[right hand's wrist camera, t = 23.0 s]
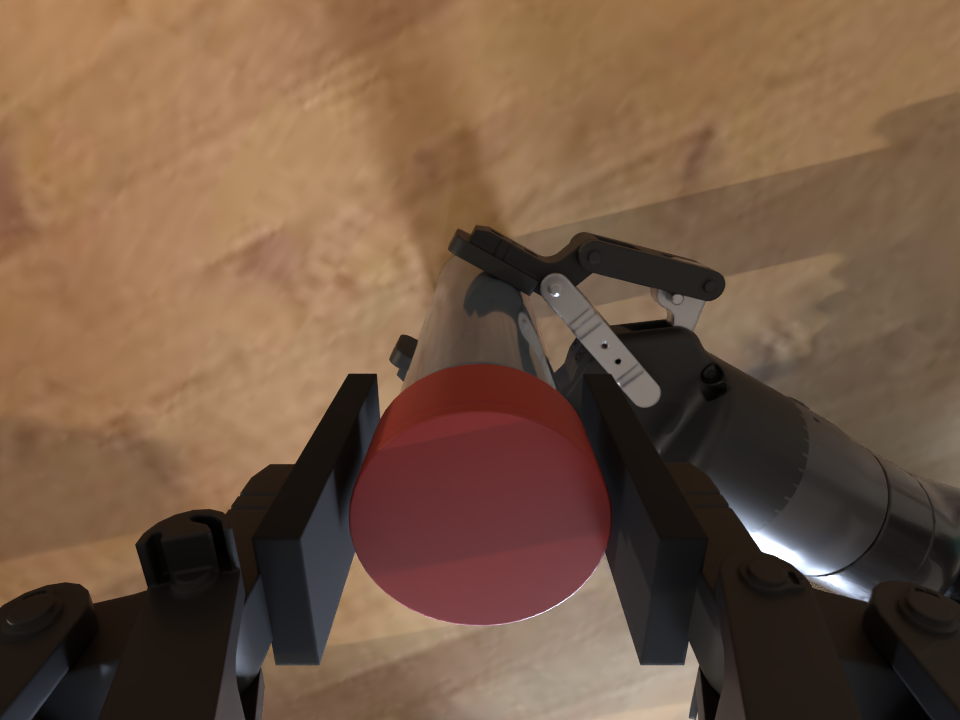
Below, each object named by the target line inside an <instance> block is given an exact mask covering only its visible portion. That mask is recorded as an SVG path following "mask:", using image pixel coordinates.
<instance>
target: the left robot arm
mask: <svg viewBox="0 0 960 720" xmlns="http://www.w3.org/2000/svg"><path fill="white" fill-rule="evenodd" d="M448 250H449V251H450V252H451V253H453V254H454V255H456V256H458V257H459V258H461V259H463V260H465V261H467V262H468V263H470V264H472V265H474V266H476V267H477V268H479V269H481V270H483V271H485V272H486V273H488V274H490V275H492V276H494V277H496V278H497V279H499V280H501V281H503V282H505V283H507V284H509V285H511V286H512V287H514V288H515V289H517V290H519V291H521V292H523V293H524V294H526V295H528V296H530V295H531V293H532V292H533V291H534V292H535V293H537V294H539V295H541V296H542V297H543V298H544V299H545V301H546V302H547V303H548V304H549V305H550V306H551V307H552V309H553V310H554V311H555V312H556V313H557V314H558V315H559V316H560V318H561V319H562V320H563V321H564V322H565V323H566V324H567V325H568V327H569V328H570V329H571V330H572V332H573V333H574V334H575V336H576V339H575V340H574V342H573V343H572V345H571V346H570V348H569V351H568V354H567V357H566V360H565V363H564V364H563V365H562V366H561V367H560V368H559V369H558V370H557V371H556V372H555V373H554V375H555V378H556V381H557V384H558V387H559V390H560V392H561V395H562V396H563V397H564V398H565V399H566V400H567V401H568V402H569V403H570V404H571V406H572V407H573V408H574V410H575V411H576V412H577V414H578V416H579V418H580V410H581V397H582V384H583V374H612V376H613V377H614V379H615V381H616V383H617V384H618V386H619V388H620V389H621V391H622V393H623V394H624V396H625V398H626V399H627V401H628V403H629V404H630V406H631V408H632V410H633V411H634V413H635V415H636V416H637V418H638V420H639V421H640V423H641V425H642V426H643V428H644V430H645V431H646V433H647V435H648V437H649V438H650V440H651V442H652V443H653V445H654V447H655V448H656V450H657V452H658V453H659V455H660V457H661V458H662V460H663V462H664V463H691V464H693V465H694V466H696V467H697V468H698V469H700V470H701V471H703V472H704V473H705V474H707V475H708V476H709V477H710V478H711V480H712V481H713V482H714V484H715V485H716V487H717V488H718V489H719V491H720V495H723V497H724V498H725V499H726V501H727V502H728V504H729V508H732V509H733V511H734V512H735V514H736V515H737V516H738V518H739V519H740V521H741V522H742V523H743V525H744V526H745V528H746V529H747V530H748V532H749V533H750V535H751V536H752V538H753V539H754V540H755V542H756V543H757V545H758V546H759V547H760V549H761V550H762V552H765V553H769V554H772V555H775V556H777V557H779V558H781V559H783V560H785V561H787V562H789V563H791V564H792V565H793V566H794V567H795V568H797V569H798V570H799V571H800V572H801V573H803V574H804V575H805V577H806V578H807V580H809V581H811V582H813V583H815V584H817V585H819V586H821V587H824V588H826V589H828V590H829V591H831V592H833V593H835V594H837V595H841V596H845V597H849V598H854V599H858V600H862V601H867V602H868V600H869V597H870V594H871V591H872V589H873V588H874V587H875V586H876V585H878V584H879V583H880V582H885V581H893V580H897V581H904V582H910V583H915V584H918V585H921V586H924V587H927V588H929V589H932V590H935V591H937V592H939V593H941V594H942V595H944V596H946V597H948V598H950V599H952V600H953V601H955V602H957V603H958V604H959V605H960V489H959V488H956V487H952V486H948V485H944V484H941V483H937V482H934V481H930V480H927V479H923V478H920V477H917V476H914V475H912V474H910V473H908V472H907V471H905V470H903V469H902V468H900V467H898V466H896V465H894V464H893V463H891V462H889V461H887V460H886V459H884V458H882V457H880V456H879V455H877V454H875V453H873V452H872V451H870V450H868V449H866V448H864V447H863V446H861V445H860V444H858V443H857V442H855V441H854V440H853V439H851V438H850V437H849V436H848V435H847V434H845V433H844V432H843V431H842V430H841V429H839V428H838V427H837V426H835V425H834V424H832V423H831V422H829V421H828V420H826V419H824V418H823V417H821V416H819V415H818V414H816V413H814V412H812V411H811V410H810V409H809V408H808V407H807V406H805V404H803V403H802V402H800V401H798V400H795V399H793V398H791V397H786V396H784V395H783V394H781V393H779V392H777V391H776V390H774V389H772V388H770V387H769V386H767V385H765V384H763V383H761V382H760V381H758V380H756V379H754V378H753V377H751V376H749V375H747V374H746V373H744V372H742V371H740V370H739V369H737V368H735V367H733V366H732V365H730V364H728V363H726V362H725V361H723V360H721V359H719V358H718V357H716V356H714V355H712V354H711V353H709V352H707V351H706V350H705V349H704V348H703V346H702V344H701V342H700V340H699V338H698V337H697V335H696V334H695V333H694V332H693V330H694V328H695V326H696V323H697V321H698V318H699V316H700V314H701V311H702V309H703V306H704V304H705V302H706V301H712V300H714V299H716V298H718V297H719V296H720V295H721V294H722V292H723V291H724V288H725V280H724V277H723V276H722V275H721V274H720V273H718V272H716V271H714V270H712V269H710V268H708V267H706V266H704V265H703V264H701V263H699V262H697V261H694V260H691V259H687V258H684V257H680V256H676V255H672V254H668V253H664V252H660V251H657V250H653V249H649V248H645V247H641V246H637V245H633V244H630V243H626V242H622V241H618V240H614V239H610V238H606V237H603V236H599V235H595V234H591V233H587V232H581V233H578V234H576V235H575V236H574V237H573V238H572V239H571V241H570V243H569V244H568V245H567V246H566V247H565V248H563V249H562V250H561V251H560V252H559V253H557V254H555V255H553V256H549V257H543V256H540V255H538V254H536V253H534V252H532V251H530V250H529V249H527V248H525V247H523V246H522V245H520V244H518V243H516V242H515V241H513V240H511V239H509V238H508V237H506V236H504V235H502V234H501V233H499V232H497V231H495V230H494V229H492V228H490V227H486V226H479V225H476V226H475V228H474V230H473V232H472V234H471V235H470V234H469V233H467V232H465V231H463V230H460V229H457V231H456V233H455V235H454V236H453V238H452V240H451V242H450V244H449V247H448ZM592 273H596V274H600V275H604V276H608V277H612V278H616V279H620V280H624V281H628V282H632V283H636V284H640V285H644V286H648V287H651V290H650V292H651V296H652V298H653V299H654V300H655V301H656V302H657V303H658V304H660V305H661V306H662V307H664V308H666V310H667V318H666V319H663V320H654V321H646V322H637V323H628V324H620V325H611V326H610V325H609V324H608V323H607V321H606V320H605V319H604V318H603V317H602V316H601V314H600V313H599V312H598V311H597V310H596V309H595V307H594V306H593V305H592V304H591V303H590V302H589V300H588V299H587V298H586V297H585V296H584V295H583V294H582V293H581V291H580V290H579V289H578V288H577V287H576V286H577V285H578V284H579V283H580V282H582V281H583V280H584V279H585V278H587V277H588V276H589V275H590V274H592ZM417 341H418V340H416V339H414V338H412V337H410V336H408V335H401V336H400V338H399V340H398V341H397V343H396V345H395V347H394V349H393V351H392V354H391V356H390V358H389V360H390V362H391V363H392V364H393V365H395V366H396V367H398V368H399V370H398V373H397V376H398V377H399V378H400V379H401V380H402V381H403V382H404V380H405V377H406V374H407V371H408V368H409V365H410V362H411V359H412V356H413V353H414V350H415V347H416V344H417Z"/></svg>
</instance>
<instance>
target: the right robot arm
mask: <svg viewBox="0 0 960 720" xmlns="http://www.w3.org/2000/svg"><path fill="white" fill-rule="evenodd" d="M379 420H380V410H379V397H378V384H377V374H348V376H347V377H346V379H345V381H344V382H343V384H342V386H341V388H340V389H339V391H338V393H337V394H336V396H335V398H334V399H333V401H332V403H331V404H330V406H329V408H328V409H327V411H326V413H325V415H324V416H323V418H322V420H321V421H320V423H319V425H318V426H317V428H316V430H315V431H314V433H313V435H312V437H311V438H310V440H309V442H308V443H307V445H306V447H305V448H304V450H303V452H302V453H301V455H300V457H299V458H298V460H297V462H296V464H270V465H268V466H267V467H266V468H264V469H263V470H261V471H260V472H259V473H257V474H256V475H254V476H253V477H252V478H251V479H250V480H249V482H248V483H247V485H246V486H245V487H244V489H243V490H242V492H241V493H240V496H238V497H237V499H236V500H235V502H234V503H233V504H232V506H231V510H228V512H227V513H226V514H224V513H223V512H220V511H215V510H211V509H203V510H191V511H188V512H184V513H180V514H176V515H174V516H171V517H169V518H167V519H165V520H163V521H161V522H158V523H157V524H156V525H154V526H153V527H151V528H150V529H149V530H147V531H146V532H145V533H144V534H143V535H142V536H141V538H140V539H139V540H138V542H137V543H136V544H135V546H136V549H137V552H138V556H139V559H140V563H141V566H142V569H143V573H144V576H145V580H146V583H147V586H148V589H147V591H143V592H140V593H137V594H133V595H129V596H125V597H120V598H116V599H112V600H107V601H103V602H99V603H94V604H93V603H92V600H91V597H90V594H89V591H88V590H87V589H85V588H84V587H83V586H82V585H80V584H74V583H66V582H65V583H58V584H52V585H46V586H43V587H41V588H38V589H35V590H32V591H29V592H27V593H24V594H23V595H21V596H19V597H17V598H15V599H13V600H12V601H10V602H8V603H6V604H4V605H3V606H2V607H1V608H0V720H262V710H263V699H264V688H265V686H264V679H263V673H262V668H261V665H262V663H263V661H264V658H265V656H266V654H267V651H268V649H269V647H270V644H271V643H272V648H273V653H274V658H275V663H276V665H320V662H321V659H322V655H323V652H324V649H325V646H326V643H327V639H328V636H329V633H330V630H331V627H332V623H333V620H334V617H335V614H336V611H337V607H338V604H339V601H340V598H341V595H342V592H343V588H344V585H345V582H346V579H347V576H348V572H349V569H350V566H351V563H352V560H353V556H354V553H355V549H354V546H353V542H352V538H351V534H350V528H349V506H350V500H351V496H352V491H353V488H354V485H355V483H356V480H357V477H358V475H359V472H360V469H361V467H362V464H363V461H364V459H365V456H366V453H367V451H368V448H369V446H370V443H371V440H372V438H373V435H374V432H375V430H376V428H377V425H378V423H379ZM580 420H581V422H582V423H583V426H584V428H585V431H586V433H587V436H588V439H589V441H590V444H591V447H592V449H593V452H594V455H595V457H596V460H597V463H598V465H599V468H600V471H601V473H602V476H603V478H604V481H605V484H606V487H607V489H608V492H609V497H610V502H611V507H612V525H611V533H610V538H609V541H608V544H607V548H606V551H605V553H606V556H607V560H608V563H609V566H610V569H611V572H612V576H613V579H614V582H615V585H616V588H617V592H618V595H619V598H620V601H621V604H622V608H623V611H624V614H625V617H626V620H627V624H628V627H629V630H630V633H631V636H632V639H633V643H634V646H635V649H636V652H637V655H638V659H639V662H640V665H684V663H685V658H686V653H687V648H688V642H690V644H691V646H692V649H693V651H694V653H695V656H696V658H697V660H698V663H699V668H698V673H697V678H696V683H695V688H694V693H693V697H692V702H691V707H690V714H689V718H691V719H694V720H696V717H697V712H698V720H960V605H959V604H958V603H957V602H955V601H953V600H952V599H950V598H948V597H946V596H944V595H942V594H941V593H939V592H937V591H935V590H932V589H929V588H927V587H924V586H921V585H918V584H915V583H910V582H904V581H897V580H893V581H885V582H880V583H879V584H878V585H876V586H875V587H874V588H873V589H872V591H871V594H870V597H869V600H868V602H867V601H862V600H858V599H854V598H849V597H845V596H841V595H836V594H832V593H828V592H824V591H821V590H817V589H814V588H812V586H811V585H810V583H809V581H808V580H807V578H806V577H805V575H804V574H803V573H801V572H800V571H799V570H798V569H797V568H795V567H794V566H793V565H792V564H791V563H789V562H787V561H785V560H783V559H781V558H779V557H777V556H775V555H772V554H769V553H765V552H762V550H761V549H760V547H759V546H758V545H757V543H756V542H755V540H754V539H753V538H752V536H751V535H750V533H749V532H748V530H747V529H746V528H745V526H744V525H743V523H742V522H741V521H740V519H739V518H738V516H737V515H736V514H735V512H734V511H733V509H732V508H729V504H728V502H727V501H726V499H725V498H724V497H723V495H720V491H719V489H718V488H717V487H716V485H715V484H714V482H713V481H712V480H711V478H710V477H709V476H708V475H707V474H705V473H704V472H703V471H701V470H700V469H698V468H697V467H696V466H694V465H693V464H691V463H664V462H663V460H662V458H661V457H660V455H659V453H658V452H657V450H656V448H655V447H654V445H653V443H652V442H651V440H650V438H649V437H648V435H647V433H646V431H645V430H644V428H643V426H642V425H641V423H640V421H639V420H638V418H637V416H636V415H635V413H634V411H633V410H632V408H631V406H630V404H629V403H628V401H627V399H626V398H625V396H624V394H623V393H622V391H621V389H620V388H619V386H618V384H617V383H616V381H615V379H614V377H613V376H612V374H583V384H582V397H581V410H580Z"/></svg>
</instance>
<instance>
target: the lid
mask: <svg viewBox="0 0 960 720" xmlns="http://www.w3.org/2000/svg"><path fill="white" fill-rule="evenodd" d="M611 525H612V507H611V502H610V497H609V492H608V489H607V487H606V484H605V481H604V478H603V476H602V473H601V471H600V468H599V465H598V463H597V460H596V457H595V455H594V452H593V449H592V447H591V444H590V441H589V439H588V436H587V433H586V431H585V428H584V426H583V423H582V422H581V420H580V418H579V416H578V414H577V412H576V411H575V410H574V408H573V407H572V406H571V404H570V403H569V402H568V401H567V400H566V399H565V398H564V397H563V396H562V395H561V394H560V393H559V392H558V391H557V390H555V389H554V388H553V387H552V386H550V385H549V384H548V383H546V382H544V381H542V380H541V379H539V378H537V377H535V376H533V375H531V374H528V373H526V372H523V371H521V370H518V369H514V368H510V367H506V366H500V365H493V364H469V365H459V366H455V367H451V368H446V369H443V370H440V371H437V372H435V373H432V374H430V375H428V376H426V377H424V378H422V379H420V380H418V381H416V382H415V383H413V384H412V385H411V386H409V387H408V388H406V389H405V390H404V391H403V392H402V393H401V394H399V395H398V396H397V397H396V398H395V399H394V400H393V402H392V403H391V404H390V405H389V407H388V408H387V409H386V410H385V412H384V414H383V415H382V417H381V419H380V420H379V423H378V425H377V428H376V430H375V432H374V435H373V438H372V440H371V443H370V446H369V448H368V451H367V453H366V456H365V459H364V461H363V464H362V467H361V469H360V472H359V475H358V477H357V480H356V483H355V485H354V488H353V491H352V496H351V500H350V506H349V528H350V534H351V538H352V542H353V546H354V549H355V551H356V554H357V556H358V558H359V560H360V562H361V564H362V565H363V567H364V569H365V570H366V572H367V573H368V574H369V576H370V577H371V578H372V579H373V581H374V582H375V583H376V584H377V585H378V586H379V587H380V588H381V589H382V590H383V591H384V592H385V593H387V594H388V595H389V596H391V597H392V598H393V599H395V600H396V601H397V602H399V603H401V604H402V605H404V606H406V607H407V608H409V609H411V610H413V611H415V612H418V613H420V614H422V615H424V616H427V617H430V618H433V619H436V620H440V621H444V622H449V623H453V624H461V625H470V626H489V625H501V624H507V623H512V622H517V621H521V620H524V619H527V618H531V617H534V616H536V615H538V614H541V613H543V612H546V611H548V610H550V609H551V608H553V607H555V606H557V605H559V604H560V603H562V602H563V601H565V600H566V599H567V598H569V597H570V596H572V595H573V594H574V593H575V592H576V591H577V590H578V589H580V588H581V587H582V586H583V585H584V584H585V582H586V581H587V580H588V579H589V578H590V577H591V576H592V574H593V573H594V571H595V570H596V568H597V567H598V565H599V563H600V562H601V559H602V557H603V555H604V553H605V551H606V548H607V544H608V541H609V538H610V533H611Z"/></svg>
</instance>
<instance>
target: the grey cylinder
mask: <svg viewBox="0 0 960 720" xmlns="http://www.w3.org/2000/svg"><path fill="white" fill-rule="evenodd" d="M469 364H493V365H500V366H506V367H510V368H514V369H518V370H521V371H523V372H526V373H528V374H531V375H533V376H535V377H537V378H539V379H541V380H542V381H544V382H546V383H548V384H549V385H550V386H552V387H553V388H554V389H555V390H557V391H558V392H559V393H560V394H561V392H560V390H559V387H558V384H557V381H556V378H555V375H554V372H553V369H552V366H551V363H550V360H549V357H548V354H547V351H546V348H545V345H544V342H543V339H542V336H541V333H540V330H539V327H538V324H537V321H536V318H535V315H534V312H533V309H532V306H531V303H530V300H529V297H528V295H526V294H524V293H523V292H521V291H519V290H517V289H515V288H514V287H512V286H511V285H509V284H507V283H505V282H503V281H501V280H499V279H497V278H496V277H494V276H492V275H490V274H488V273H486V272H485V271H483V270H481V269H479V268H477V267H476V266H474V265H472V264H470V263H468V262H467V261H465V260H463V259H461V258H459V257H458V256H456V255H454V256H453V257H451V258H450V259H449V260H448V261H447V263H446V264H445V265H444V267H443V268H442V270H441V272H440V275H439V278H438V281H437V284H436V287H435V290H434V293H433V296H432V299H431V302H430V305H429V308H428V311H427V314H426V317H425V320H424V323H423V326H422V329H421V332H420V335H419V338H418V341H417V344H416V347H415V350H414V353H413V356H412V359H411V362H410V365H409V368H408V371H407V374H406V377H405V380H404V383H403V386H402V389H401V392H400V394H401V393H402V392H403V391H404V390H405V389H406V388H408V387H409V386H411V385H412V384H413V383H415V382H416V381H418V380H420V379H422V378H424V377H426V376H428V375H430V374H432V373H435V372H437V371H440V370H443V369H446V368H451V367H455V366H459V365H469Z"/></svg>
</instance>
